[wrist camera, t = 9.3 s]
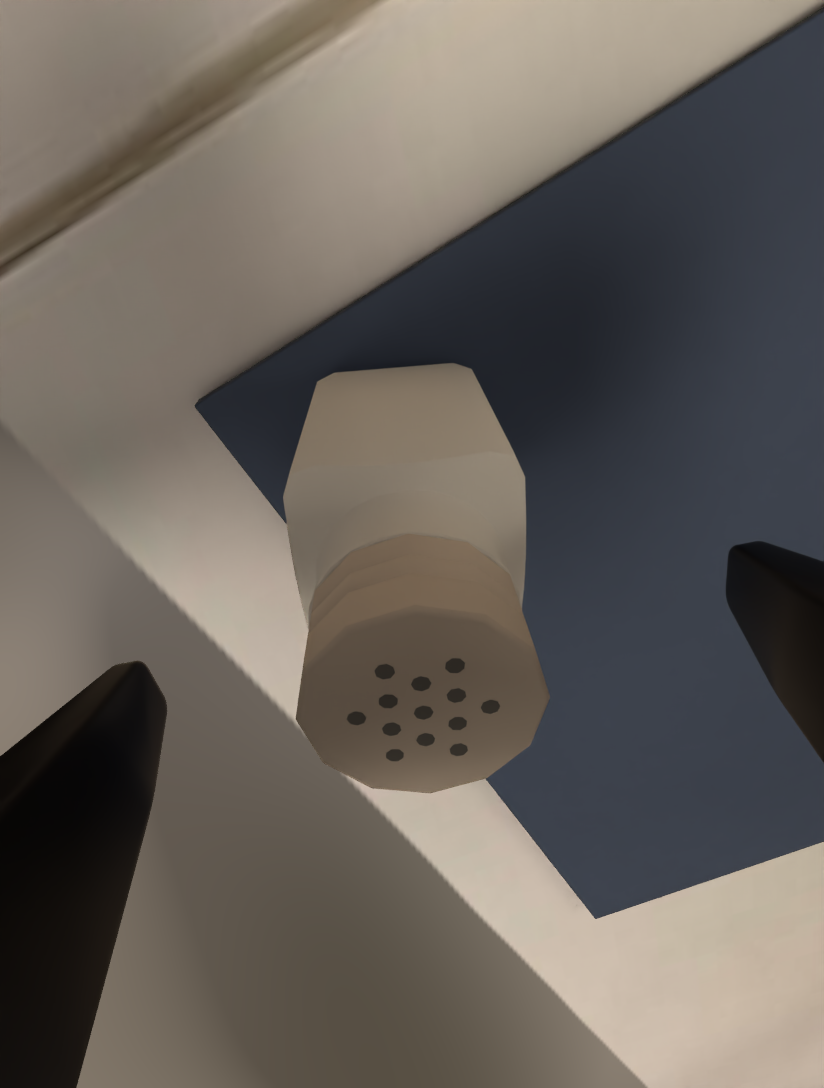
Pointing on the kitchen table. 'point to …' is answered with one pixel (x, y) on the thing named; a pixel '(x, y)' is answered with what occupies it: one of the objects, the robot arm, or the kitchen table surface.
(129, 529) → the kitchen table surface
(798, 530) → the mat
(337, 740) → the salt shaker
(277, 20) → the kitchen table surface
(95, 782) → the robot arm
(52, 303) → the kitchen table surface
